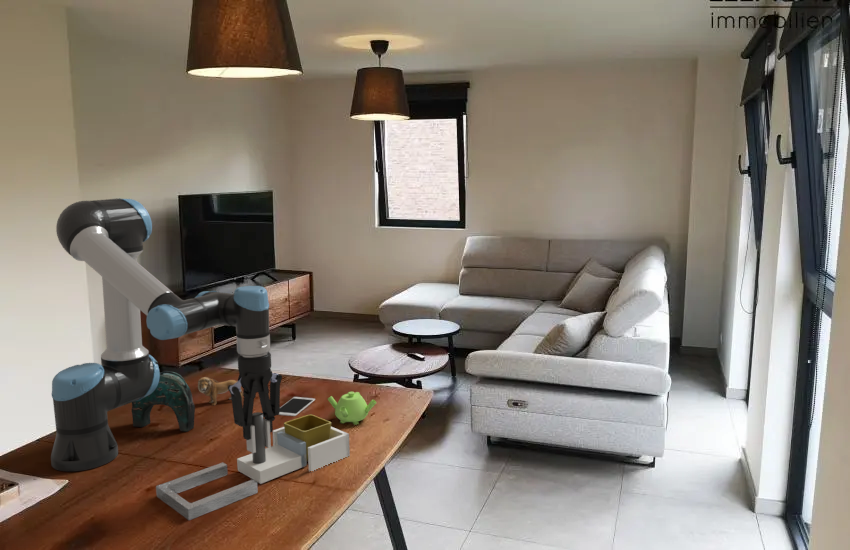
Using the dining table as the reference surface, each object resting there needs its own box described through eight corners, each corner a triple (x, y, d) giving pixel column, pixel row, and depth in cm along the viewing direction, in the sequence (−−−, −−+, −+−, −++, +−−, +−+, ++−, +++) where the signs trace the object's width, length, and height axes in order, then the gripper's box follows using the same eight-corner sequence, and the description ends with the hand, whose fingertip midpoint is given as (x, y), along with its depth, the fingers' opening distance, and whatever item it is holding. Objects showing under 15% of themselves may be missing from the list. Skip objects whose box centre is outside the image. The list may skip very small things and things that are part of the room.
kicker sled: (260, 483, 156) (257, 423, 154) (237, 470, 163) (234, 412, 160) (306, 465, 165) (304, 408, 163) (283, 453, 172) (280, 398, 170)
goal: (311, 472, 163) (310, 448, 162) (273, 452, 174) (272, 430, 173) (349, 456, 171) (349, 433, 170) (311, 439, 182) (310, 417, 181)
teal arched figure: (125, 427, 191) (120, 358, 188) (140, 419, 197) (136, 352, 194) (186, 434, 186) (183, 363, 183) (200, 425, 192) (197, 357, 189)
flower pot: (312, 445, 178) (310, 413, 176) (333, 455, 172) (332, 421, 170) (284, 456, 171) (282, 422, 170) (305, 466, 165) (303, 431, 164)
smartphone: (315, 398, 213) (294, 415, 199) (315, 400, 213) (294, 417, 199) (294, 396, 215) (271, 413, 200) (294, 398, 215) (271, 415, 201)
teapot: (362, 410, 203) (361, 383, 201) (378, 423, 193) (377, 395, 191) (326, 417, 197) (326, 389, 196) (341, 431, 188) (340, 401, 186)
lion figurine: (201, 409, 205) (199, 380, 204) (196, 404, 209) (195, 376, 208) (248, 399, 213) (247, 372, 211) (243, 395, 217) (242, 368, 216)
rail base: (189, 520, 141) (188, 509, 140) (156, 496, 151) (155, 486, 151) (257, 492, 153) (257, 482, 152) (223, 472, 163) (222, 462, 162)
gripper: (230, 363, 148) (236, 464, 152) (293, 348, 160) (296, 442, 164) (213, 357, 153) (219, 454, 157) (275, 343, 165) (279, 434, 169)
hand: (258, 448), depth 161 cm, fingers open, 3 cm apart
